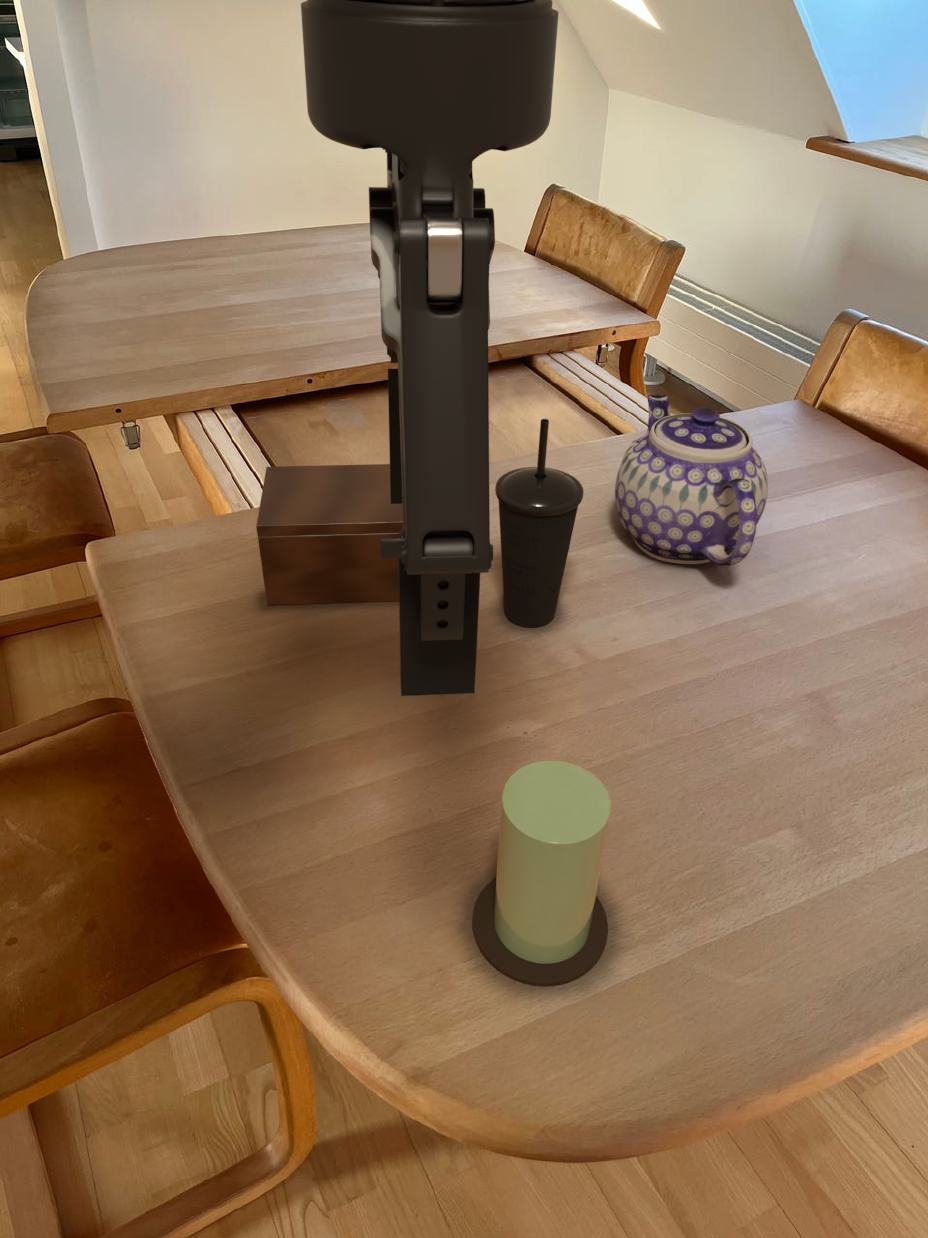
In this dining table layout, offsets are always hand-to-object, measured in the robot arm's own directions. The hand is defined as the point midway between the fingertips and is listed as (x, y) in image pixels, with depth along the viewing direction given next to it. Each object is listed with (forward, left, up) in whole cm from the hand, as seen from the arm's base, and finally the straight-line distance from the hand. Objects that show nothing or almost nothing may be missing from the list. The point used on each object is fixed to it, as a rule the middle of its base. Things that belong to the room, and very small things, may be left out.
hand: (426, 581), depth 40 cm
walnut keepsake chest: (-6, +46, -31) cm, 55 cm away
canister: (+8, +4, -31) cm, 32 cm away
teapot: (+30, +50, -31) cm, 66 cm away
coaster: (+8, +4, -31) cm, 32 cm away
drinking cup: (+12, +38, -31) cm, 50 cm away
